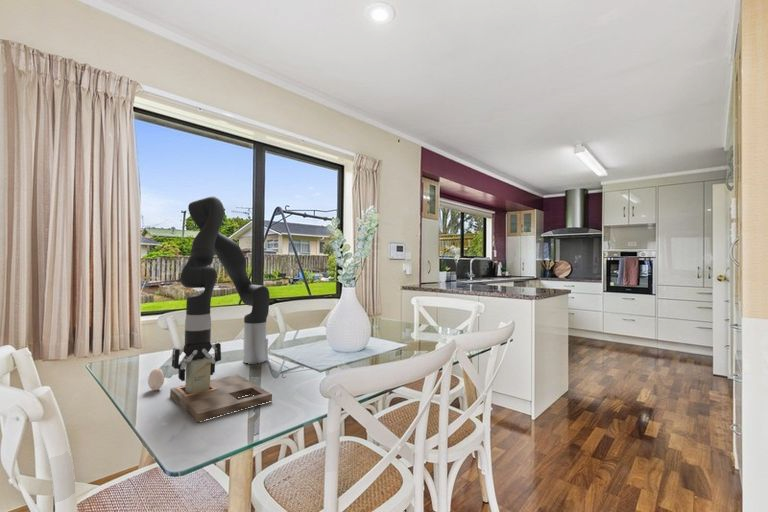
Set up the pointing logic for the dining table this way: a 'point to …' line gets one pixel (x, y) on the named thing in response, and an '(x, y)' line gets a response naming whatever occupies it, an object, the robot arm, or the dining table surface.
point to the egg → (156, 379)
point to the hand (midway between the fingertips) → (196, 377)
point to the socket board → (220, 397)
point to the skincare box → (198, 376)
